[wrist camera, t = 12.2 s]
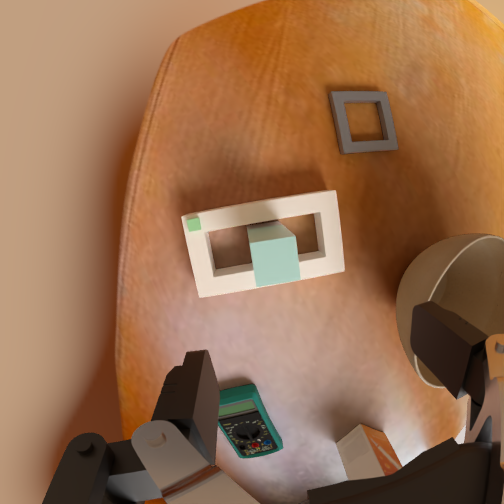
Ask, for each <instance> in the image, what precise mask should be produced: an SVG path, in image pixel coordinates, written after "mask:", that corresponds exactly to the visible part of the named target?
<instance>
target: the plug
mask: <svg viewBox="0 0 504 504" xmlns="http://www.w3.org/2000/svg"><path fill="white" fill-rule="evenodd" d="M247 233H248V239H249V245H250V252H251V258H252V264H253V269H254V275H255V281H256V287H261V286H267V285H273V284H279V283H285V282H291V281H297V280H301V277H300V268H299V259H298V251H297V243H296V236H295V235H294V234H293V233H292V232H291V231H289V230H288V229H287V228H286V227H285V226H284V225H283V224H281V223H280V222H279V221H275V222H269V223H262V224H256V225H250V226H247Z"/></svg>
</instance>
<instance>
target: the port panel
mask: <svg viewBox="0 0 504 504" xmlns="http://www.w3.org/2000/svg"><path fill="white" fill-rule="evenodd" d="M312 213H314V219H315V226H316V234H317V242H318V250H319V251H315V252H309V253H304V254H299V255H298V259H299V268H300V277H301V280H303V279H309V278H314V277H319V276H324V275H329V274H333V273H338V272H343V271H345V267H344V256H343V245H342V235H341V226H340V218H339V210H338V202H337V195H336V190H323V191H316V192H309V193H302V194H296V195H289V196H283V197H277V198H271V199H265V200H259V201H253V202H247V203H242V204H236V205H231V206H225V207H220V208H215V209H209V210H204V211H199V212H194V213H189V214H186V215H184V216H182V217H181V218H182V223H183V228H184V233H185V237H186V242H187V247H188V251H189V256H190V260H191V264H192V269H193V273H194V277H195V282H196V286H197V290H198V294H199V298H202V297H208V296H214V295H220V294H226V293H232V292H238V291H244V290H249V289H255V288H261V287H266V286H261V287H256V281H255V275H254V269H253V264H252V263H249V264H243V265H238V266H232V267H226V268H221V269H216V268H215V263H214V258H213V253H212V248H211V244H210V239H209V234H208V232H209V231H214V230H219V229H225V228H230V227H236V226H241V225H247V224H253V223H258V222H264V221H270V220H276V219H282V218H287V217H293V216H300V215H306V214H312ZM297 281H298V280H297ZM291 282H293V281H291ZM285 283H288V282H285ZM279 284H283V283H279ZM273 285H277V284H273ZM267 286H272V285H267Z"/></svg>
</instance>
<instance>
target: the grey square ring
mask: <svg viewBox="0 0 504 504" xmlns="http://www.w3.org/2000/svg"><path fill="white" fill-rule="evenodd" d="M328 95H329V100H330V104H331V108H332V113H333V118H334V123H335V127H336V133H337V138H338V143H339V149H340V154H349V153H361V152H374V151H391V150H398V143H397V137H396V132H395V127H394V122H393V118H392V113H391V109H390V104H389V100H388V96H387V92H380V91H331V92H330V93H329V94H328ZM344 103H376V104H377V109H378V113H379V117H380V122H381V127H382V132H383V137H384V140H377V141H360V142H352V140H351V135H350V130H349V125H348V120H347V115H346V111H345V106H344Z"/></svg>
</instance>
